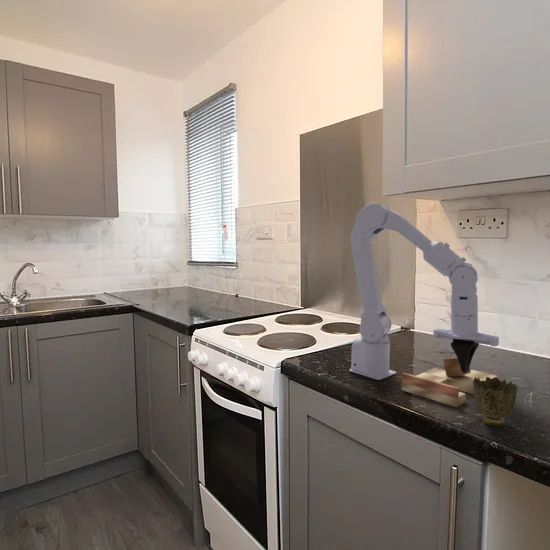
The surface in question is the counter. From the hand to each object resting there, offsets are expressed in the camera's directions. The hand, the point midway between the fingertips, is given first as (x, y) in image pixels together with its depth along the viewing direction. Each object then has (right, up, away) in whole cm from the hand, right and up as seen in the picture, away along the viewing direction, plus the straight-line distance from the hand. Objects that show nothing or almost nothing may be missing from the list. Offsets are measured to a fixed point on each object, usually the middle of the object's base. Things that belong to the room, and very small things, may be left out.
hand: (464, 371), depth 95 cm
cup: (-3, -6, -19) cm, 20 cm away
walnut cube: (-1, -1, +2) cm, 2 cm away
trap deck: (-3, -4, +1) cm, 5 cm away
